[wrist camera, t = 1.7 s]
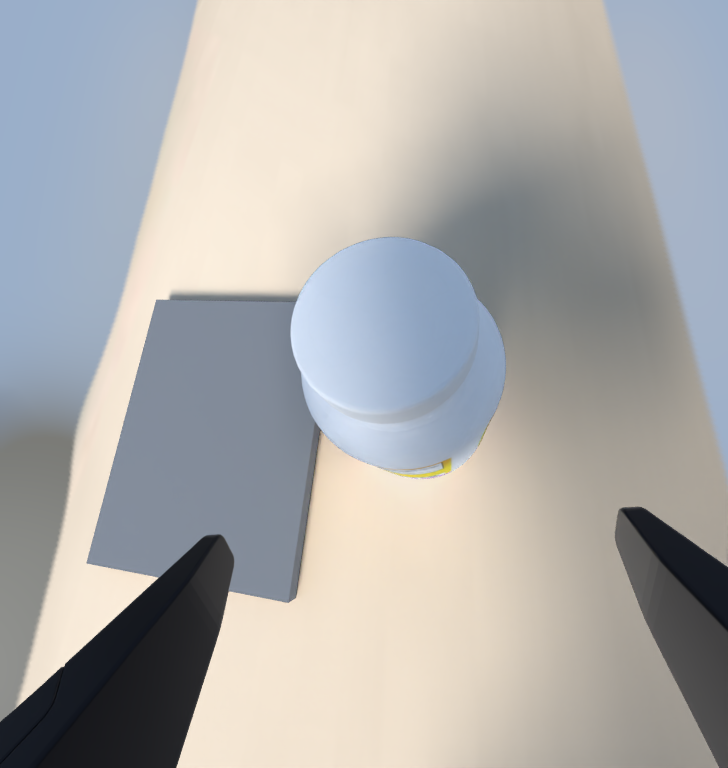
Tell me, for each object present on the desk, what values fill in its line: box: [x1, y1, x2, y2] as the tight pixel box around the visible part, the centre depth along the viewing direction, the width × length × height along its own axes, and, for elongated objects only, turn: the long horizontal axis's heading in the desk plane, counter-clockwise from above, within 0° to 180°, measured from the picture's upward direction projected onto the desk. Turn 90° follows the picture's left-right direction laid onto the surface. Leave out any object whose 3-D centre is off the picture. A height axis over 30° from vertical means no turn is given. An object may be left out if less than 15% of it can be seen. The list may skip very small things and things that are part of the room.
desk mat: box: [87, 300, 320, 603], centre depth 24 cm, size 16×12×1 cm
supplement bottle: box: [290, 237, 506, 479], centre depth 16 cm, size 7×7×13 cm
